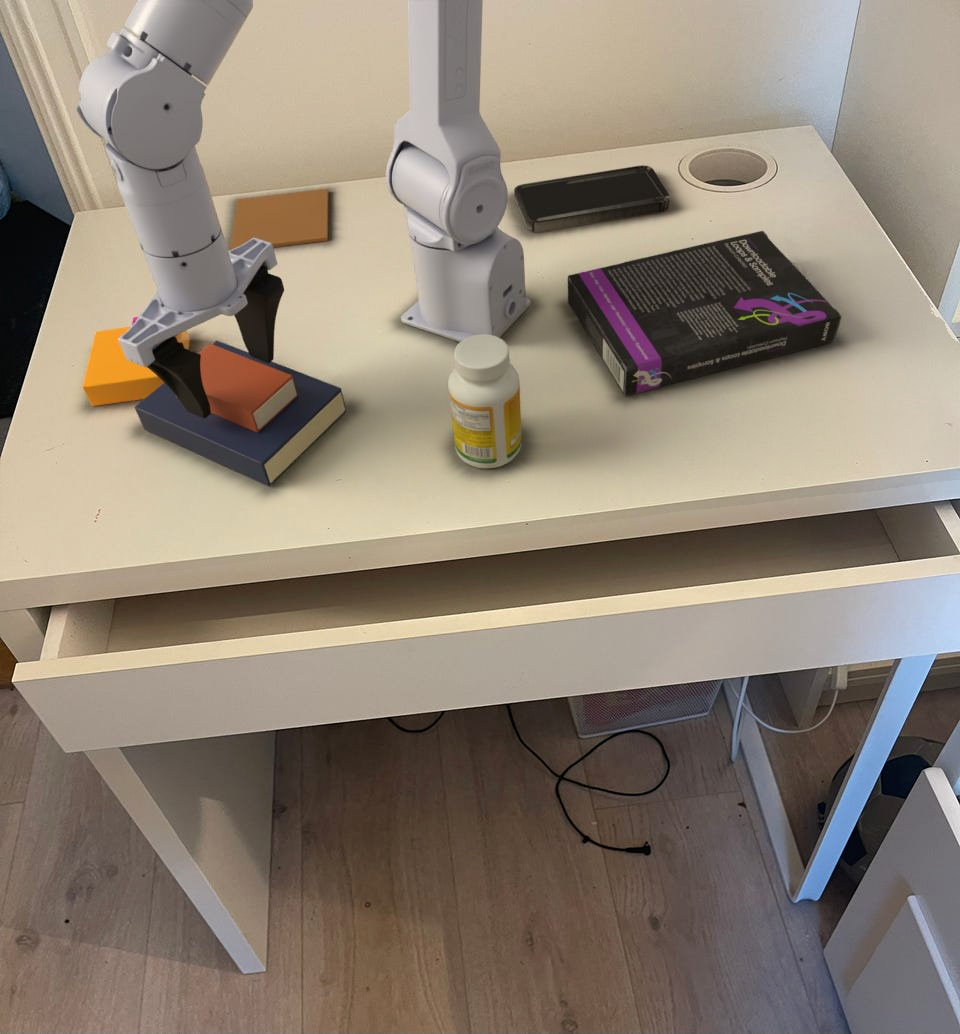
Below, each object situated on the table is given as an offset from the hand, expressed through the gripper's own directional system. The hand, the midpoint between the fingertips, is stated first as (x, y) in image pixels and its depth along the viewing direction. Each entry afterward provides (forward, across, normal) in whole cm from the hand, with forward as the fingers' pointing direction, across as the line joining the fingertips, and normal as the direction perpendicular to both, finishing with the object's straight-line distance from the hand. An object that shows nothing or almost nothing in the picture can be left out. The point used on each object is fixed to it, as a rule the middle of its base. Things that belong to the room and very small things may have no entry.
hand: (231, 384), depth 77 cm
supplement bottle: (+4, +7, -20) cm, 22 cm away
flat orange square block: (+4, +1, +13) cm, 13 cm away
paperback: (+1, 0, 0) cm, 1 cm away
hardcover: (+4, 0, 0) cm, 4 cm away
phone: (+4, +43, -10) cm, 44 cm away
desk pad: (+4, +26, +18) cm, 32 cm away
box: (+4, +29, -28) cm, 41 cm away
